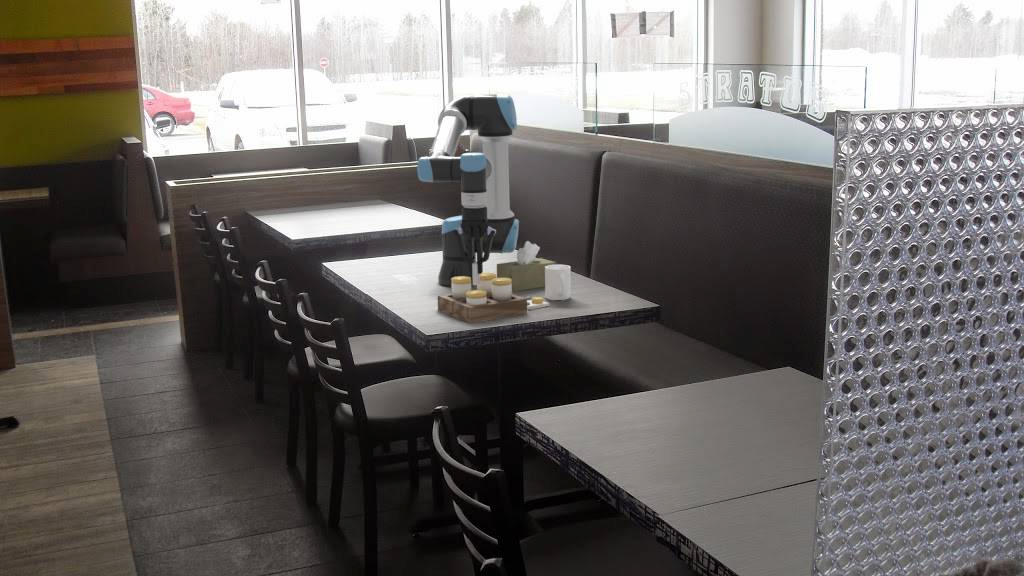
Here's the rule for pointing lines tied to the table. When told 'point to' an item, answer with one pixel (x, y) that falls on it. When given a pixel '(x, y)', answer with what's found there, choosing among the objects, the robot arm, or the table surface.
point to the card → (535, 302)
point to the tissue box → (525, 269)
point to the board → (482, 308)
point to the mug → (557, 282)
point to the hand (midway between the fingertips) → (476, 284)
